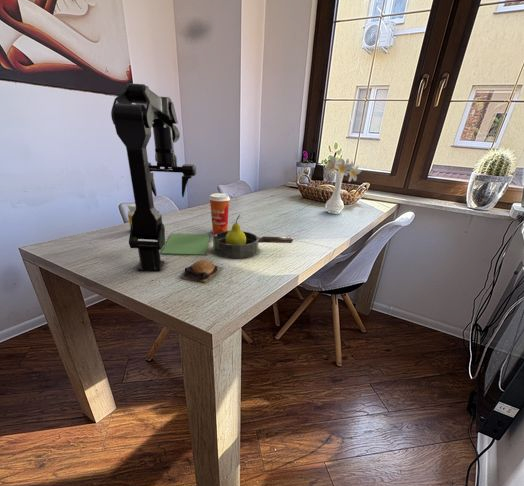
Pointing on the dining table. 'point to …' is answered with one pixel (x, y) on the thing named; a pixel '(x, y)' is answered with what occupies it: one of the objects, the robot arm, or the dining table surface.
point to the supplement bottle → (131, 212)
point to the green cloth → (186, 244)
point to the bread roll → (200, 271)
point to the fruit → (236, 235)
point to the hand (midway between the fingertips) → (169, 196)
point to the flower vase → (339, 182)
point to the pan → (235, 246)
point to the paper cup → (219, 212)
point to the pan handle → (274, 239)
